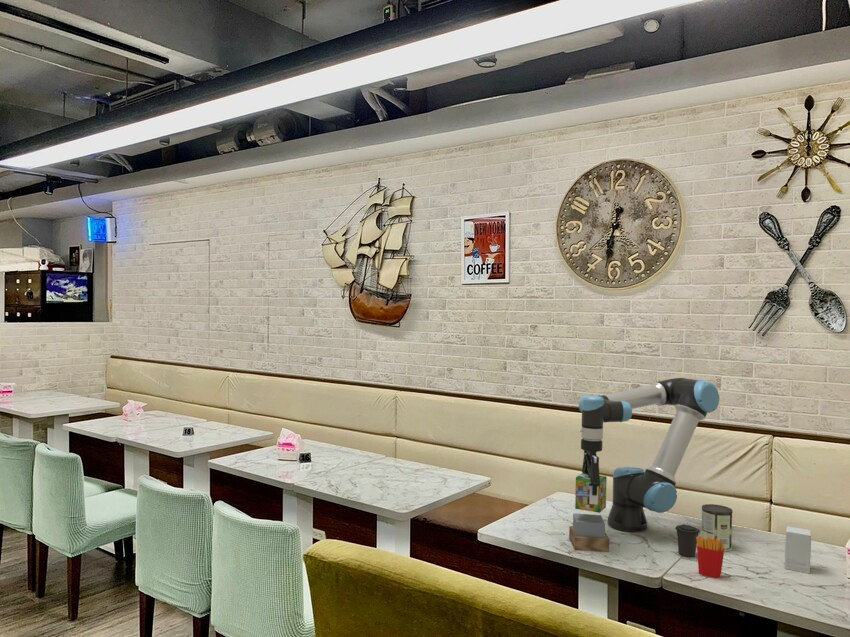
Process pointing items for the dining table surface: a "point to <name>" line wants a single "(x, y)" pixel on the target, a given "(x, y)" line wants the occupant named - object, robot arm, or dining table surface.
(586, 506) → the chalk box
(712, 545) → the french fries
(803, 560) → the supplement box
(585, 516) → the slate top block
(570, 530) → the walnut base block
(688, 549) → the coffee cup
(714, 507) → the coffee can
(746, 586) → the dining table surface
